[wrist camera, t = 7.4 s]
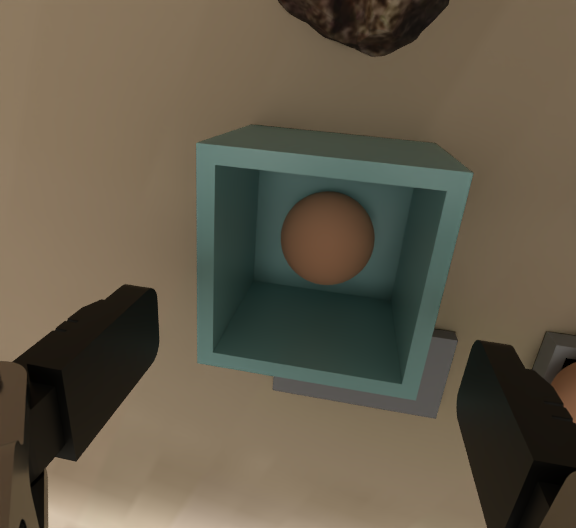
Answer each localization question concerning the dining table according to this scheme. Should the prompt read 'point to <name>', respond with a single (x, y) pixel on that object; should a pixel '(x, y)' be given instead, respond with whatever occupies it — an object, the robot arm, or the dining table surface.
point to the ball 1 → (327, 238)
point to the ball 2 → (567, 388)
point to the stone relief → (368, 21)
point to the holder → (554, 354)
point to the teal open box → (314, 297)
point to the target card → (423, 406)
